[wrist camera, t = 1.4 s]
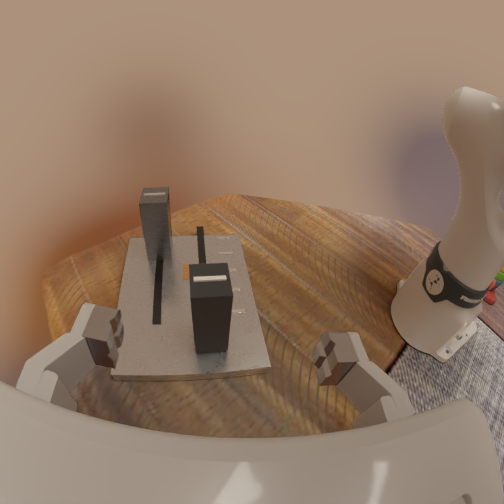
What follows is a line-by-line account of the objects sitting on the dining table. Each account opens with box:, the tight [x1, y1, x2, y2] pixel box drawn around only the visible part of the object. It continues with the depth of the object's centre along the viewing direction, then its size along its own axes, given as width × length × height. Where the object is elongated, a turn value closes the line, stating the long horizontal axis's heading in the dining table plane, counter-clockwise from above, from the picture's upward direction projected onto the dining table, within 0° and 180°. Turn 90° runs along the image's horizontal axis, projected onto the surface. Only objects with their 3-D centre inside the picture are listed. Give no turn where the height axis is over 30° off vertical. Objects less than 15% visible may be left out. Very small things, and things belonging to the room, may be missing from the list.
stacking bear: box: [484, 266, 504, 305], centre depth 45 cm, size 11×10×18 cm
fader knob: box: [189, 263, 233, 353], centre depth 30 cm, size 4×4×11 cm
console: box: [111, 187, 271, 381], centre depth 37 cm, size 20×28×13 cm
